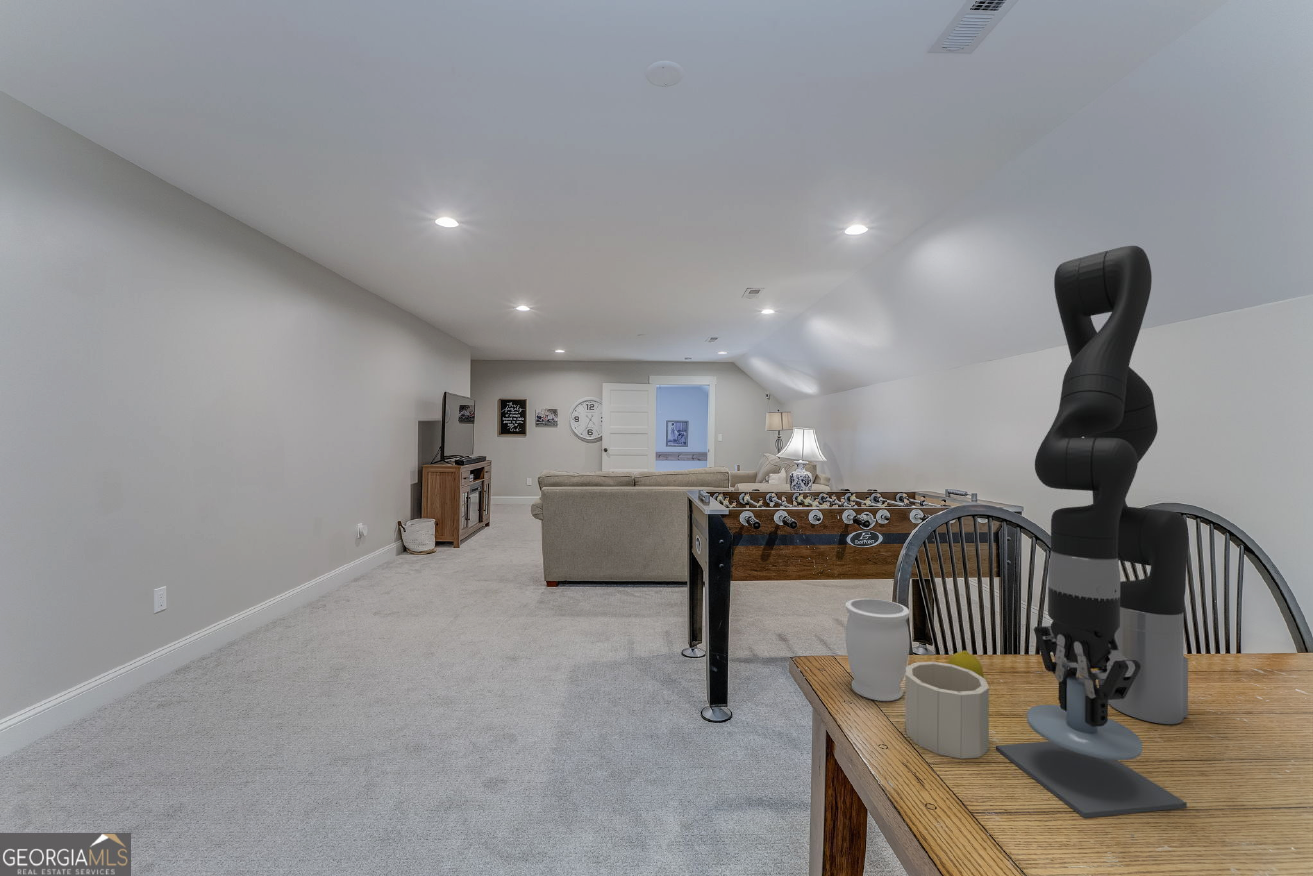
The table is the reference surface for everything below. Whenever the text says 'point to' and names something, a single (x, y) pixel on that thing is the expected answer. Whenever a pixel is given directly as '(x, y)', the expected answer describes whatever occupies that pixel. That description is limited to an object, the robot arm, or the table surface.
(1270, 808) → the table surface
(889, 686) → the jar
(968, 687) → the crock
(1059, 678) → the robot arm
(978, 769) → the table surface
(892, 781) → the table surface
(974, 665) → the lemon
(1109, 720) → the lid
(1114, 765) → the mat
